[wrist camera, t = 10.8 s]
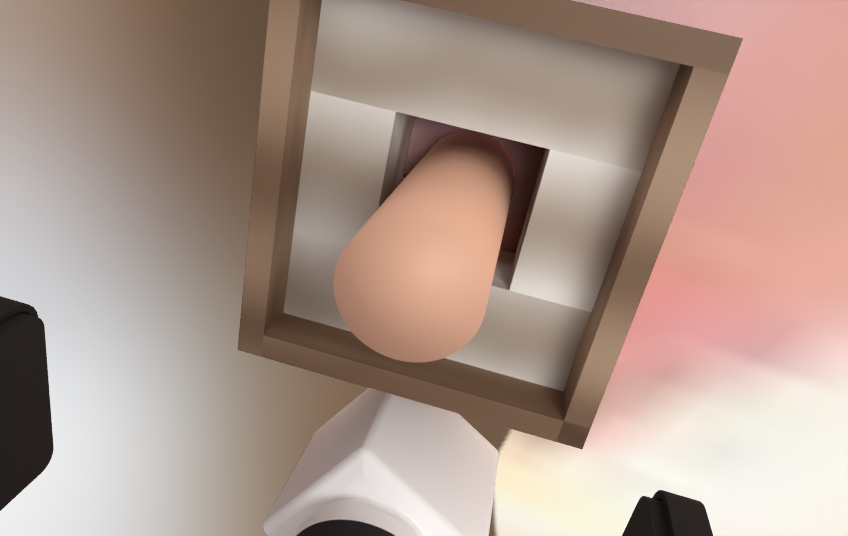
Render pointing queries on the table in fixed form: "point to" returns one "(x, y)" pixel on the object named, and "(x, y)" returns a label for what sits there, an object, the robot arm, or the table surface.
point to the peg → (429, 252)
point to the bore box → (495, 115)
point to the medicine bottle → (389, 474)
